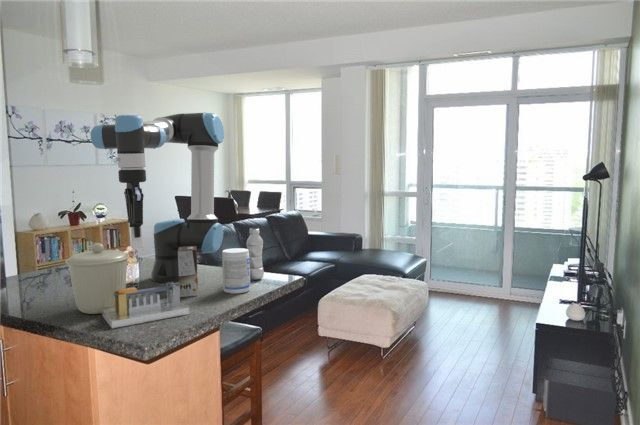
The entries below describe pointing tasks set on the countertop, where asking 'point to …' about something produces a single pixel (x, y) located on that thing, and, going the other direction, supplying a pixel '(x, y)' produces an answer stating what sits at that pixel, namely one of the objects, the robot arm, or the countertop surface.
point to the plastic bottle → (255, 254)
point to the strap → (135, 292)
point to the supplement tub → (236, 270)
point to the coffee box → (188, 271)
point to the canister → (97, 277)
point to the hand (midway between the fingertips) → (137, 247)
